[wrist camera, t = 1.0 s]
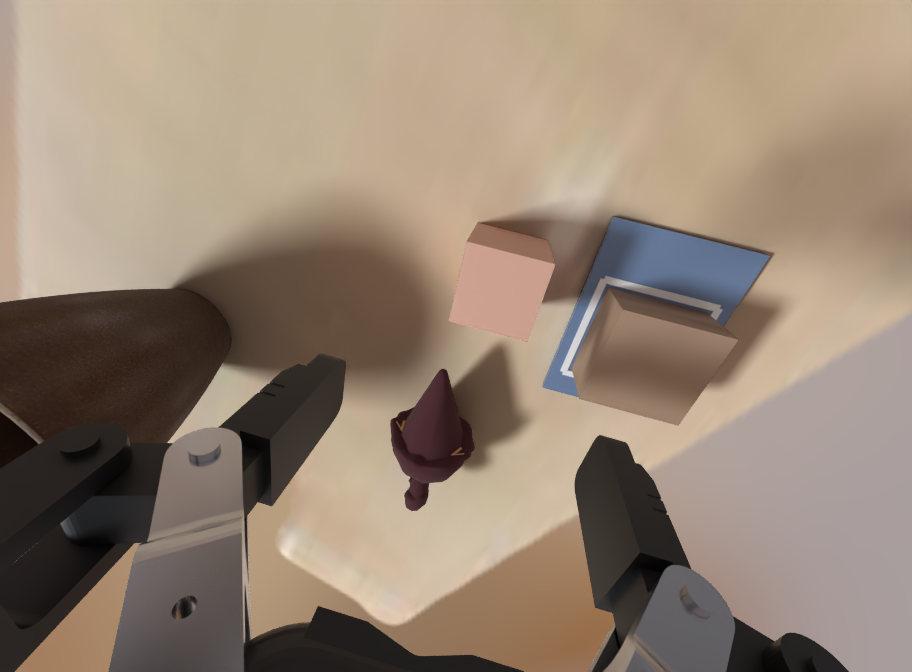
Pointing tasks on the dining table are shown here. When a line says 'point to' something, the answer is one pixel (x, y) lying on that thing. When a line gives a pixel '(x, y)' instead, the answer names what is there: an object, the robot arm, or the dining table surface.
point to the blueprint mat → (655, 282)
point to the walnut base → (649, 356)
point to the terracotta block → (502, 281)
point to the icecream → (430, 440)
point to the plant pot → (105, 363)
